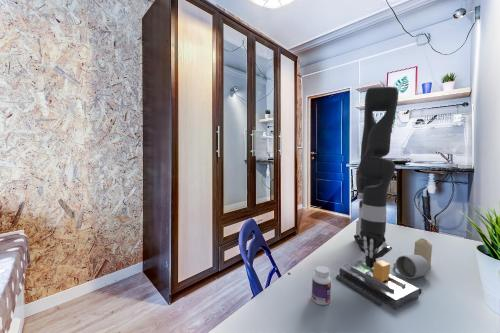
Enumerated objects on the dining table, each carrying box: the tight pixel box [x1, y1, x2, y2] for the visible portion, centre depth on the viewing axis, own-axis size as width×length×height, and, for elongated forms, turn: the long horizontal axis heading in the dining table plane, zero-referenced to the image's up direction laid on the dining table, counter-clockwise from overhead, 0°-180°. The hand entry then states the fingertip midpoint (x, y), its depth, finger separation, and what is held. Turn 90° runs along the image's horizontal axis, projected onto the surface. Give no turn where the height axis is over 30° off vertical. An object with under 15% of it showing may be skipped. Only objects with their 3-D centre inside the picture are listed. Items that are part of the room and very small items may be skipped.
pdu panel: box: [338, 259, 420, 310], centre depth 78 cm, size 20×12×4 cm, turn 28°
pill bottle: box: [311, 265, 332, 306], centre depth 70 cm, size 5×5×10 cm
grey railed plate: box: [335, 273, 423, 307], centre depth 78 cm, size 18×19×1 cm
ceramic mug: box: [392, 254, 431, 280], centre depth 86 cm, size 11×8×8 cm
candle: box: [413, 238, 433, 267], centre depth 93 cm, size 6×6×10 cm
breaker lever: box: [373, 259, 391, 281], centre depth 76 cm, size 3×4×5 cm
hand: (370, 266), depth 79 cm, fingers closed
